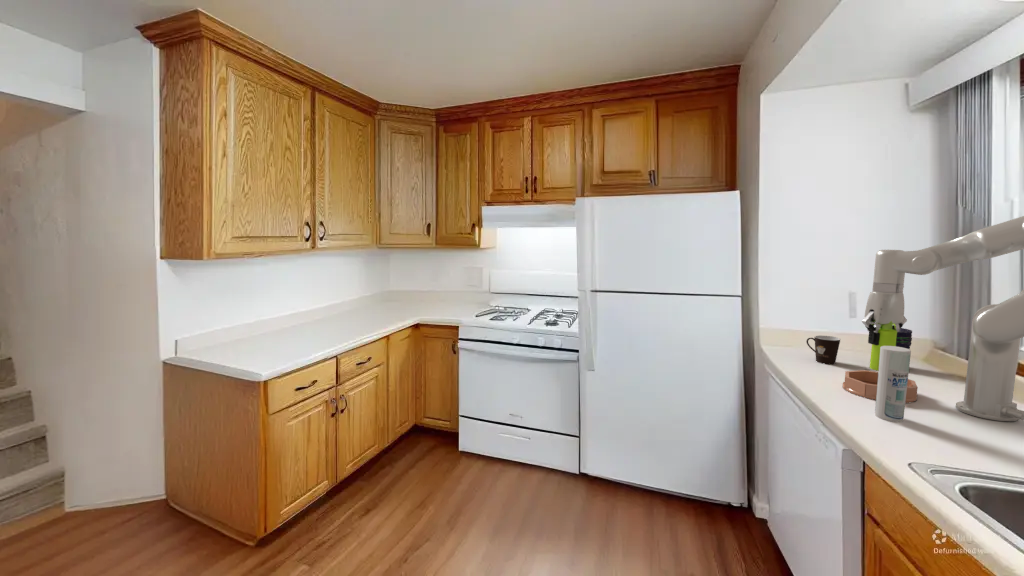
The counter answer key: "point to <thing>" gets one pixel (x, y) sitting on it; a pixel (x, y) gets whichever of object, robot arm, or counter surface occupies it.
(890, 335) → the soap dispenser
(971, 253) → the robot arm
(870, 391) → the bowl
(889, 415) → the spray can
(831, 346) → the coffee mug
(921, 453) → the counter surface
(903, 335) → the storage jar
